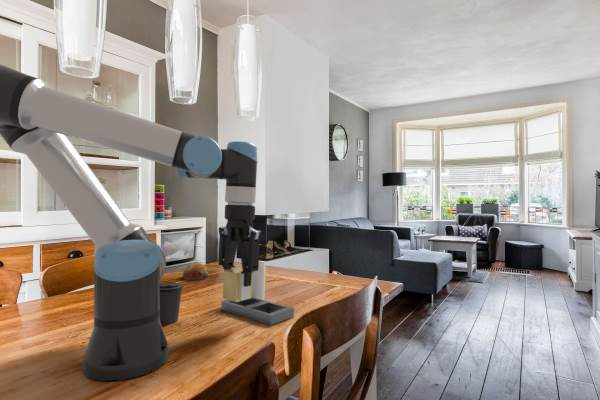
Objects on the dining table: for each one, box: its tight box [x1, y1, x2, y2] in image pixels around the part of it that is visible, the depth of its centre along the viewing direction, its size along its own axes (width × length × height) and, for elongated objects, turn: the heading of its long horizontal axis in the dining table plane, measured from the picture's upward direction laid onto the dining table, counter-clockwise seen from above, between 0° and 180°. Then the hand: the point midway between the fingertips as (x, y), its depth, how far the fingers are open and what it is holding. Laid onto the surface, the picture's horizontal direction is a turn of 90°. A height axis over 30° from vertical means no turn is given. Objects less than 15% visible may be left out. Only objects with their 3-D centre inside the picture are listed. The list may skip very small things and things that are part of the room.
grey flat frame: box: [221, 297, 295, 326], centre depth 102 cm, size 9×20×2 cm, turn 51°
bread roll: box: [182, 262, 210, 281], centre depth 147 cm, size 10×10×8 cm
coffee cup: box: [160, 281, 184, 326], centre depth 95 cm, size 8×8×10 cm
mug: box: [247, 261, 266, 300], centre depth 116 cm, size 10×7×12 cm, turn 157°
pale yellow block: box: [222, 267, 252, 302], centre depth 90 cm, size 5×5×7 cm
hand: (236, 296), depth 90 cm, fingers closed on pale yellow block, 5 cm apart
